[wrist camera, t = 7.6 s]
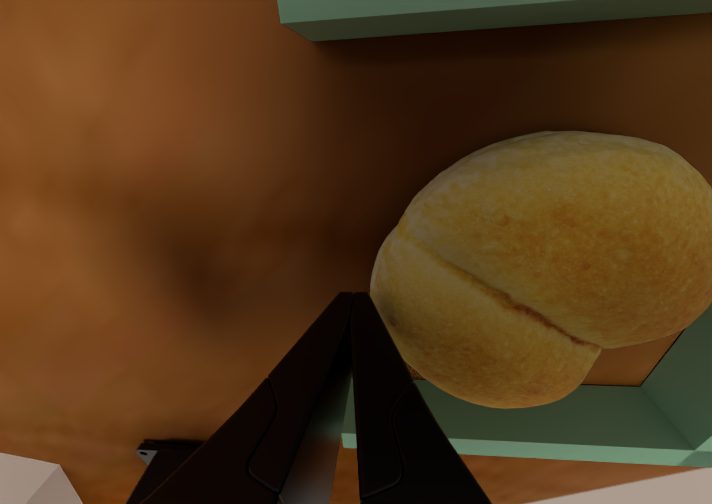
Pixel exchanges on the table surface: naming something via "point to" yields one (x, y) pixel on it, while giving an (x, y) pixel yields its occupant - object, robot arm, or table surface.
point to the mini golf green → (588, 402)
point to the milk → (34, 482)
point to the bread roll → (544, 263)
